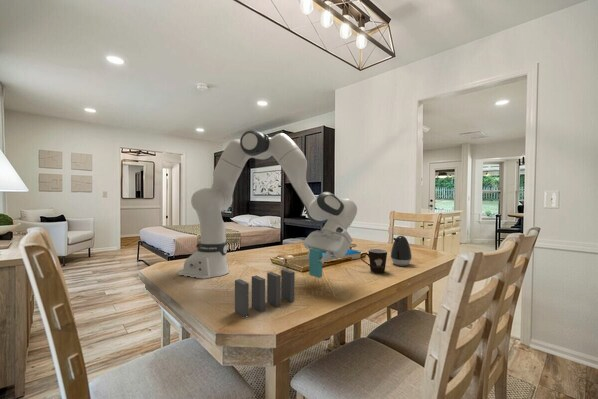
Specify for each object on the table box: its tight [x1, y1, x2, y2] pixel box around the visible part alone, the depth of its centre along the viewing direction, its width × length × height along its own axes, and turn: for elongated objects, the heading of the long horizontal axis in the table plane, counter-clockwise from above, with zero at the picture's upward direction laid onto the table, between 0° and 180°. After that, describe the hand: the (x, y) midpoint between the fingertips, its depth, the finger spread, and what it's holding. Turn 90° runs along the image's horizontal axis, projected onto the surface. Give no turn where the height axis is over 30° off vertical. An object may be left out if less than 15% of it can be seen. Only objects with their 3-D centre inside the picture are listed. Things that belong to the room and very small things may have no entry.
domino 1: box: [234, 278, 250, 318], centre depth 83 cm, size 2×5×10 cm, turn 41°
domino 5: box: [308, 248, 323, 279], centre depth 104 cm, size 2×5×10 cm, turn 41°
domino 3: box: [266, 271, 282, 308], centre depth 91 cm, size 2×5×10 cm, turn 41°
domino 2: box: [251, 274, 266, 313], centre depth 87 cm, size 2×5×10 cm, turn 41°
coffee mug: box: [359, 248, 388, 275], centre depth 130 cm, size 12×9×10 cm
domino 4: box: [280, 268, 296, 303], centre depth 95 cm, size 2×5×10 cm, turn 41°
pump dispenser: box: [390, 235, 413, 267], centre depth 142 cm, size 10×10×15 cm
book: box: [322, 248, 362, 261], centre depth 157 cm, size 17×4×25 cm
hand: (314, 260), depth 103 cm, fingers closed on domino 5, 5 cm apart
